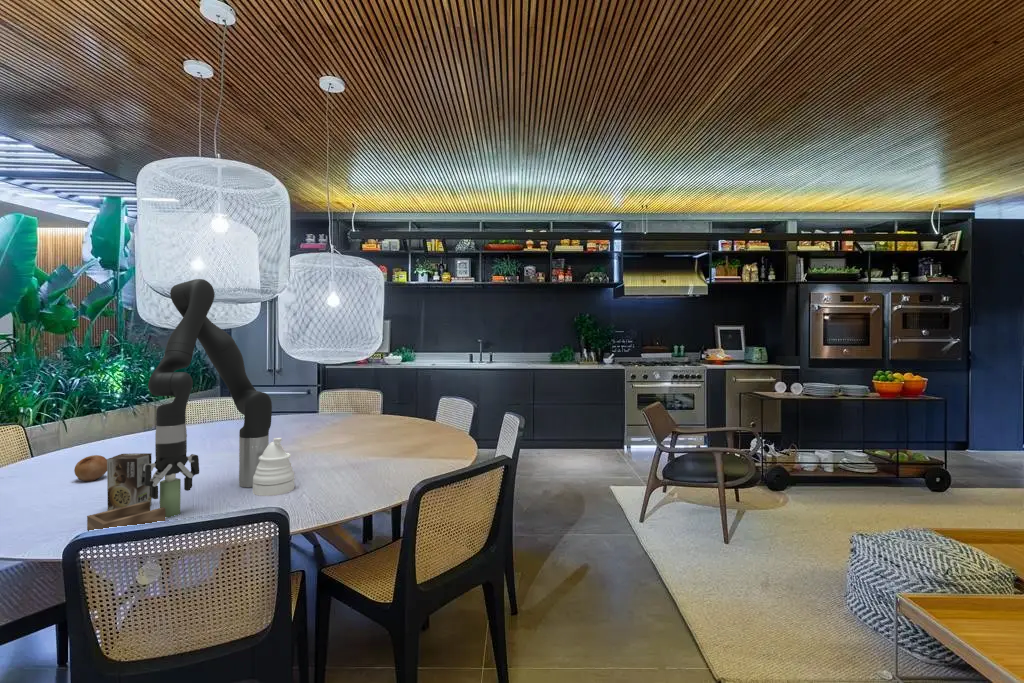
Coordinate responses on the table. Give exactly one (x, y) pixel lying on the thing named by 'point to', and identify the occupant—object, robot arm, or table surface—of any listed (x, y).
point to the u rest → (126, 516)
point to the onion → (91, 468)
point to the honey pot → (273, 471)
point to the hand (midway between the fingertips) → (171, 494)
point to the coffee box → (127, 480)
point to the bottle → (170, 495)
